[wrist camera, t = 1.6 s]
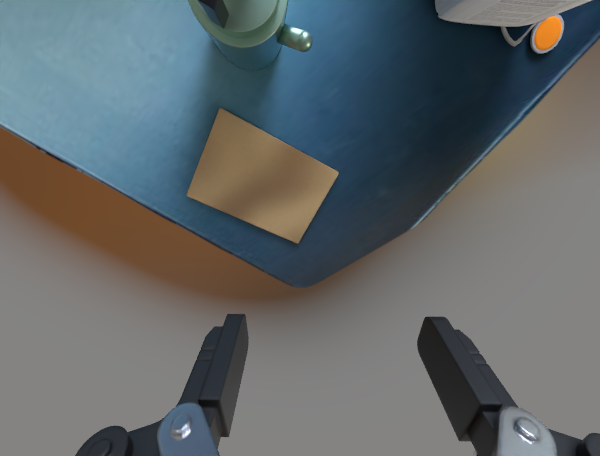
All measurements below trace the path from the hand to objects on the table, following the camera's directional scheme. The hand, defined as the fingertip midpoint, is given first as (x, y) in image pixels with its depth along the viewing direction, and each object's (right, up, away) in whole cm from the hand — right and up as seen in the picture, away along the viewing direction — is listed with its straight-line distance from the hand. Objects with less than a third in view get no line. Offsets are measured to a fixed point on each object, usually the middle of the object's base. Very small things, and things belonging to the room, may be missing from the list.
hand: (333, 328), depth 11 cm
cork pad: (-6, +10, +17) cm, 20 cm away
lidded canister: (-5, +22, +12) cm, 25 cm away
